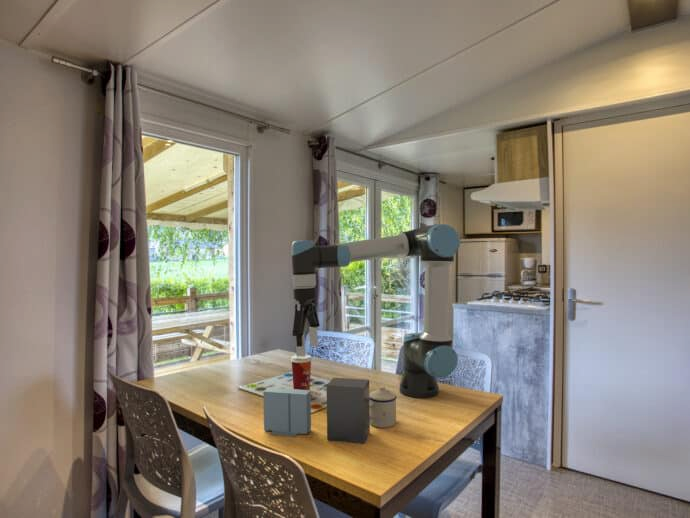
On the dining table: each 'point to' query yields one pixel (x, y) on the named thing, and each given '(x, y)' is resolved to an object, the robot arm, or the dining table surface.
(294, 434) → the pad
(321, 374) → the dining table surface
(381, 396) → the teacup with lid
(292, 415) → the slate blue cuboid
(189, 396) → the dining table surface
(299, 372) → the coffee cup
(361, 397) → the dark gray cuboid
